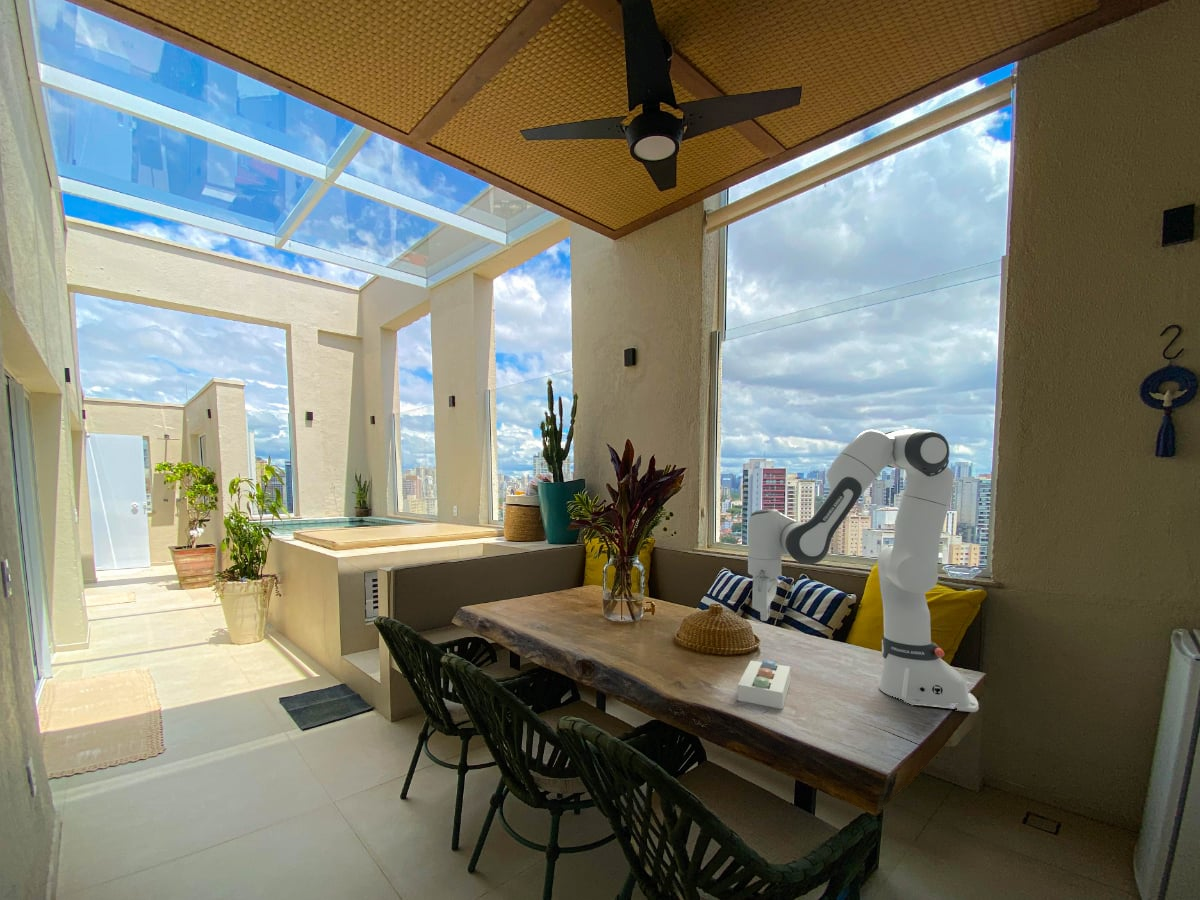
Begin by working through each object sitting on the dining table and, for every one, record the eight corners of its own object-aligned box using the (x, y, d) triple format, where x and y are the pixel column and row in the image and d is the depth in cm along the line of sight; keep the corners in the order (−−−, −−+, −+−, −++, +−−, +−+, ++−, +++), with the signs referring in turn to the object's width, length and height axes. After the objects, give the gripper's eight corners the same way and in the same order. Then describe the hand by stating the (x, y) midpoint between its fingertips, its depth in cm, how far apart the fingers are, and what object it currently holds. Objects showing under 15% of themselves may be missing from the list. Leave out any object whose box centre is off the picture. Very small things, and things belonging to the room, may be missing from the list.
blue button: (776, 671, 146) (776, 661, 146) (774, 676, 143) (774, 665, 143) (763, 669, 148) (763, 659, 148) (761, 673, 144) (761, 663, 144)
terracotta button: (773, 680, 140) (773, 669, 140) (771, 685, 136) (771, 673, 137) (759, 678, 141) (759, 667, 141) (757, 682, 138) (757, 671, 138)
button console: (790, 681, 145) (790, 666, 146) (782, 709, 127) (782, 692, 128) (750, 674, 150) (750, 660, 150) (737, 700, 132) (737, 684, 132)
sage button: (769, 689, 133) (769, 678, 134) (767, 695, 130) (767, 683, 130) (755, 687, 135) (755, 675, 135) (753, 692, 132) (753, 680, 132)
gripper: (771, 575, 130) (772, 630, 129) (780, 563, 148) (781, 611, 147) (746, 573, 133) (746, 627, 132) (758, 561, 151) (758, 609, 150)
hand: (765, 618), depth 140 cm, fingers closed
